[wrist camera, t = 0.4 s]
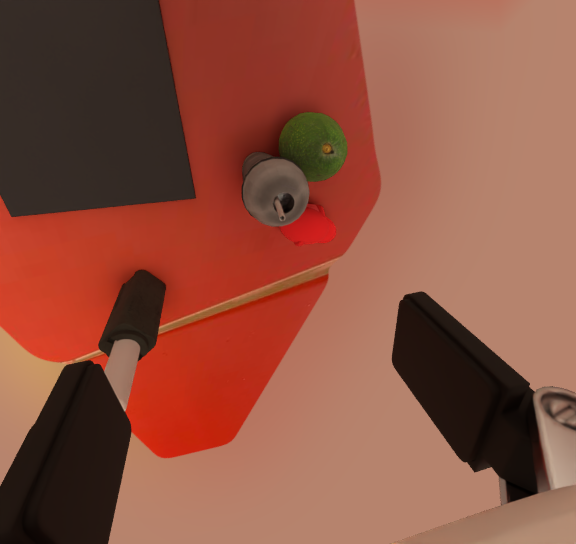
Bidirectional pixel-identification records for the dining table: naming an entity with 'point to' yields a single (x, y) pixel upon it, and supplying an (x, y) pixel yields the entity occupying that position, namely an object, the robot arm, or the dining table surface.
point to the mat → (87, 107)
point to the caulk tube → (131, 330)
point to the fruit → (314, 145)
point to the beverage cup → (273, 189)
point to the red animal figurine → (310, 227)
